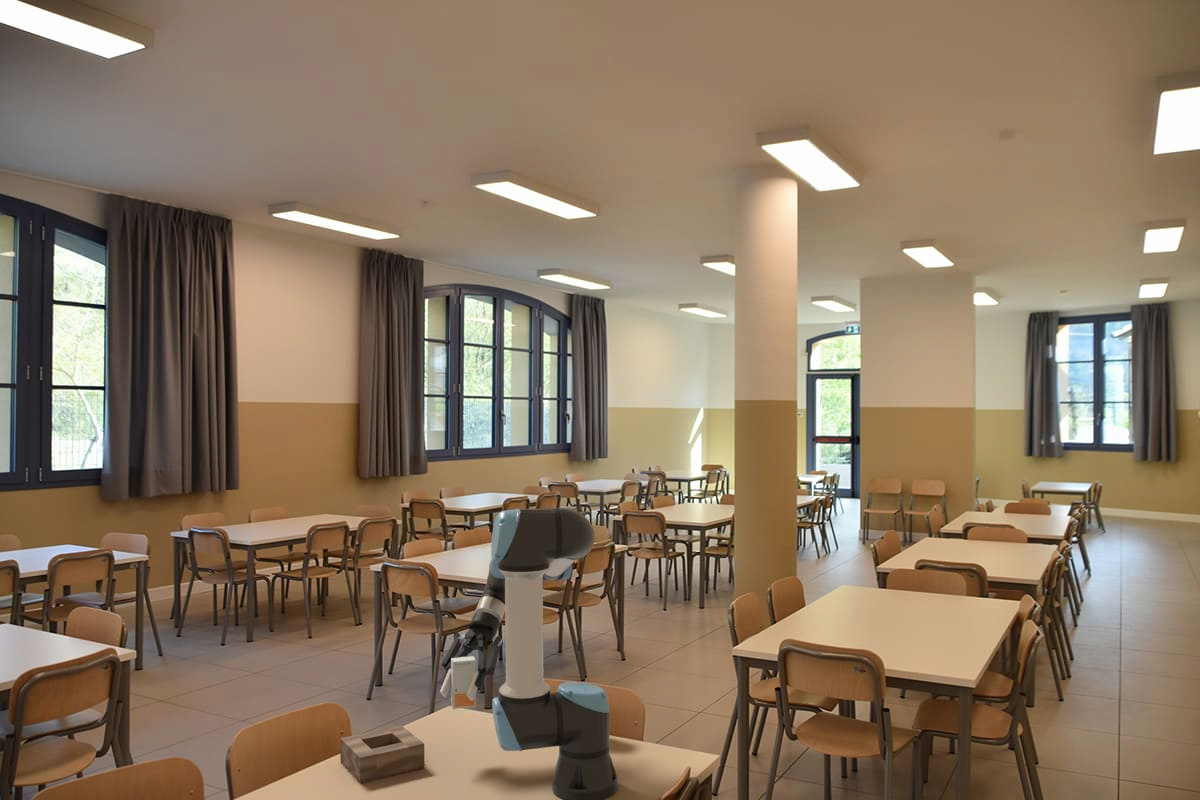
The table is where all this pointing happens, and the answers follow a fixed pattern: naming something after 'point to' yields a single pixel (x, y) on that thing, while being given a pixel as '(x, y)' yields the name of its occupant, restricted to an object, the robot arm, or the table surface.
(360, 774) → the holder block
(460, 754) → the table surface
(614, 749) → the table surface
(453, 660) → the skincare box
